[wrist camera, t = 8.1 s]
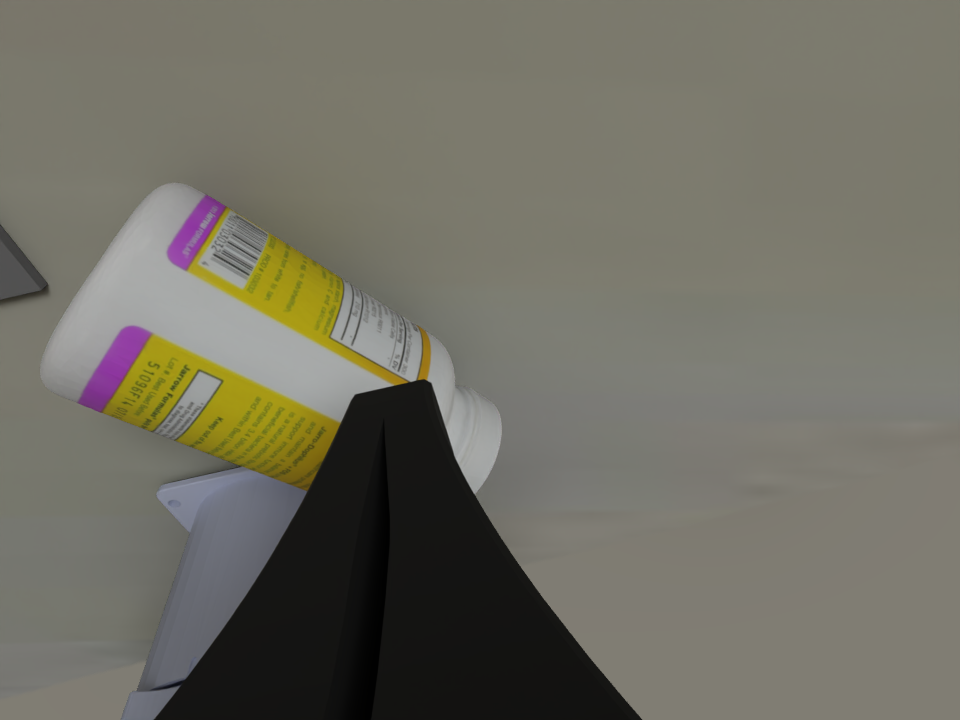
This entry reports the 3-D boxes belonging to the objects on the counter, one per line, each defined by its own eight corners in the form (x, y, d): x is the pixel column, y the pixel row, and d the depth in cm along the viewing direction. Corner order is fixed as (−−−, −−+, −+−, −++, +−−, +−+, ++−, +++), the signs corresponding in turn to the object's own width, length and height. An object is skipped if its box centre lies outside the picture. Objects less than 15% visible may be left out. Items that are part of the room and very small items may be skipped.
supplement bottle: (43, 379, 16) (388, 517, 23) (1, 388, 11) (472, 567, 17) (163, 203, 18) (452, 376, 24) (178, 133, 13) (548, 380, 19)
